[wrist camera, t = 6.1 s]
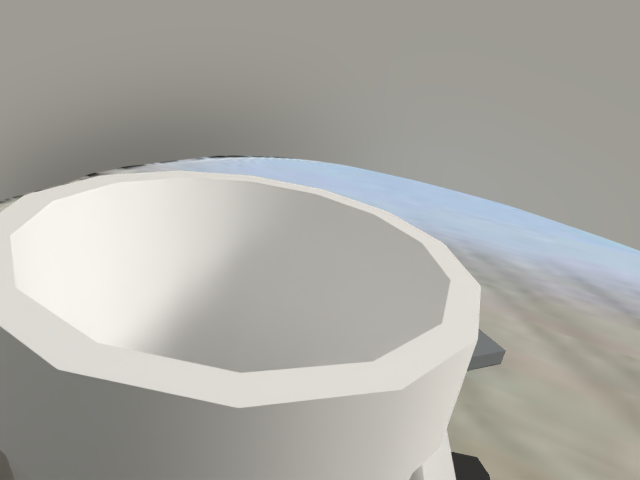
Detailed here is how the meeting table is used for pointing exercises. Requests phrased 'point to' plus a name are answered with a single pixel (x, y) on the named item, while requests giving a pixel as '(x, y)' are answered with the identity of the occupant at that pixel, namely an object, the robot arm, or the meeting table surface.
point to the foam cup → (224, 332)
